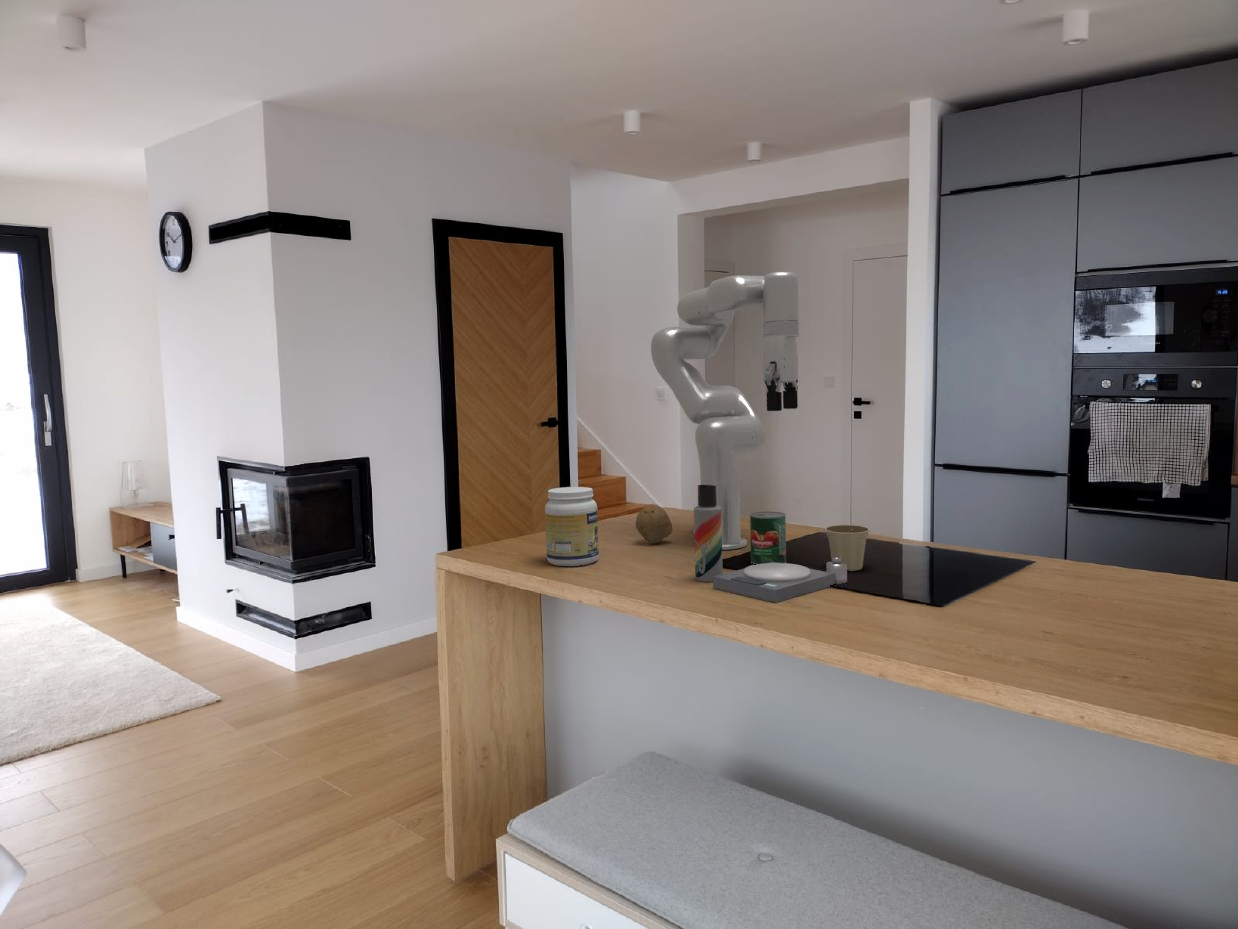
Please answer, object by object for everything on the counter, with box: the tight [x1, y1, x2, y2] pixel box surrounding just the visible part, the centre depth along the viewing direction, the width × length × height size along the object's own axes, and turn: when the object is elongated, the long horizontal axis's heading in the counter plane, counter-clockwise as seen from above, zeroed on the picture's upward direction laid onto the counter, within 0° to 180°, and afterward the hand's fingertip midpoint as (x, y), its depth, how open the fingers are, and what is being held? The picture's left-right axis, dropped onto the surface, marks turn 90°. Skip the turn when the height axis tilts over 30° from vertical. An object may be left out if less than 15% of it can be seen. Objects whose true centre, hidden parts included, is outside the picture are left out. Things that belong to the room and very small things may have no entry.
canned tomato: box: [749, 510, 787, 565], centre depth 196 cm, size 8×8×11 cm
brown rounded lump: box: [635, 503, 673, 545], centre depth 223 cm, size 9×9×10 cm
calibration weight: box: [825, 557, 848, 584], centre depth 177 cm, size 4×4×5 cm
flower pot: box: [824, 524, 871, 572], centre depth 189 cm, size 9×9×9 cm
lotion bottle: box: [693, 484, 724, 583], centre depth 182 cm, size 6×6×20 cm
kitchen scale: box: [712, 562, 835, 604], centre depth 175 cm, size 16×18×3 cm
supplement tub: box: [544, 486, 600, 567], centre depth 204 cm, size 12×12×17 cm
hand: (782, 409), depth 192 cm, fingers open, 9 cm apart
